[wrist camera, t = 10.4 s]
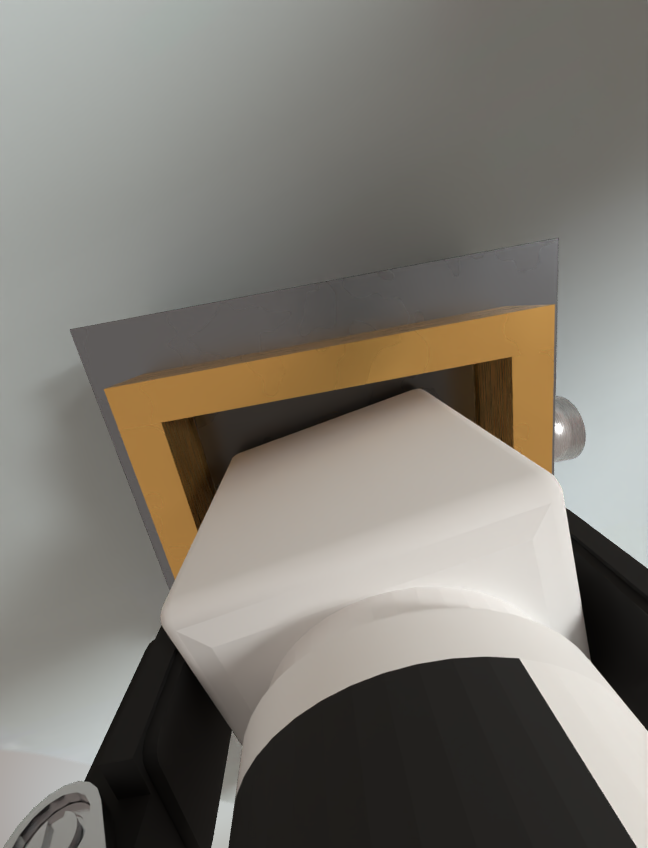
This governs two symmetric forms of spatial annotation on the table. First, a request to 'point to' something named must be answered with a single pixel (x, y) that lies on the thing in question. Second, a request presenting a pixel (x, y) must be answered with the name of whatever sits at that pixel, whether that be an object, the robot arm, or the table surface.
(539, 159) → the table surface
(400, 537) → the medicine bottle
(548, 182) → the table surface
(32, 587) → the table surface
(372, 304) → the drawer box
